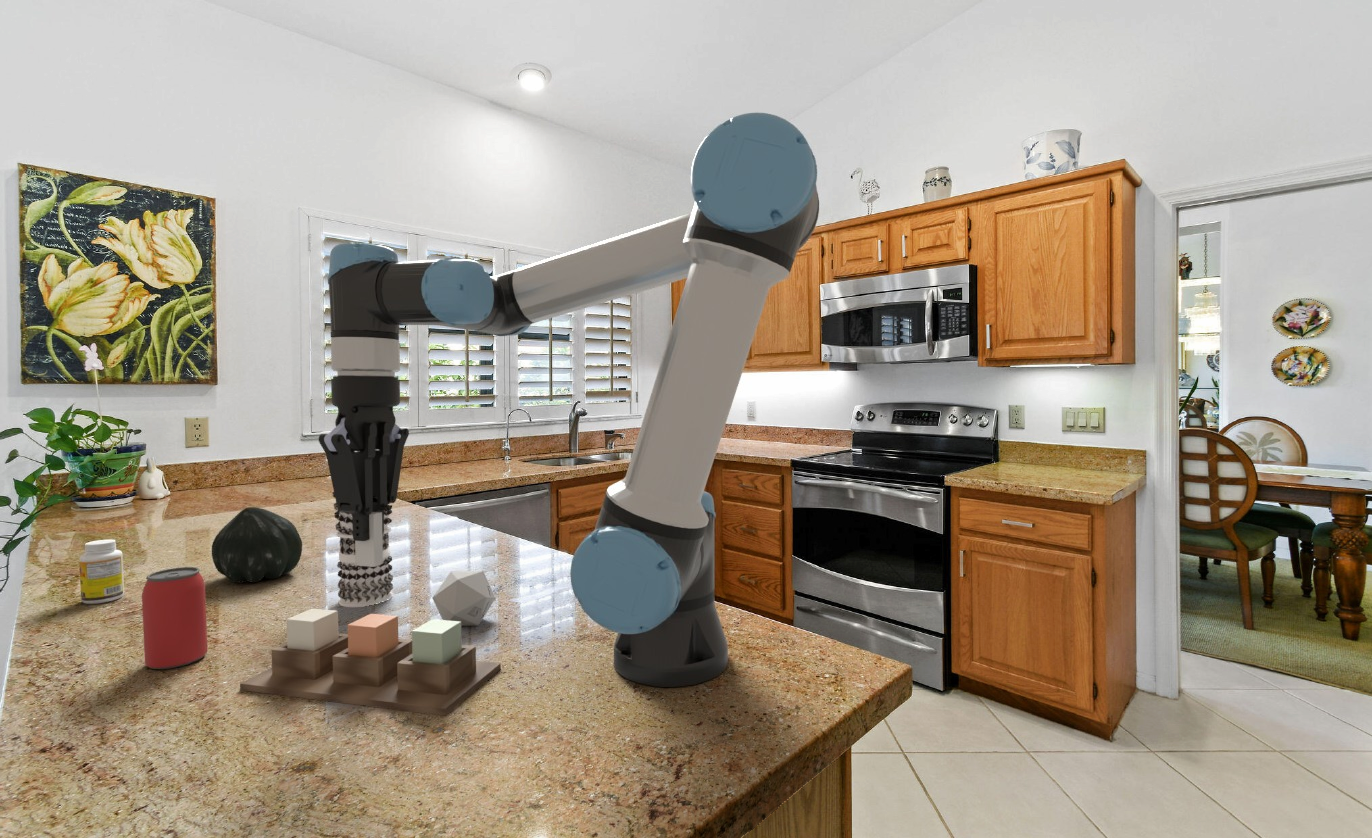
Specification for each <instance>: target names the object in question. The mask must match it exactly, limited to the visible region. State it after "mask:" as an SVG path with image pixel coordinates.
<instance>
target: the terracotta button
mask: <svg viewBox="0 0 1372 838" xmlns="http://www.w3.org/2000/svg"><path fill="white" fill-rule="evenodd" d="M347 634H348V655H357V656H367V657H376V658H377V657H379V656H381V655H382V654H384V653H386V652H387V651H389V650H391V649H393V648H394V647H396V646H398V645H399V639H400V638H399V616H398V615H392V614H391V615H389V614H379V613H369V614H367V615H366V616H363V617H361V618H359V619H357V620H355V621H353V622H351V623H349V624H347Z"/></svg>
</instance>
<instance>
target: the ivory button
mask: <svg viewBox="0 0 1372 838" xmlns="http://www.w3.org/2000/svg"><path fill="white" fill-rule="evenodd" d="M338 633H339V611H338V610H333V609H332V610H331V609H322V608H321V609H320V608H310V609H307V610H305V611H303V612H301V613H298V614H296V615H293V616H291V617H288V618H286V636H287V637H286V638H287V639H286V641H287V642H286V643H287V648H291V649H300V650H310V651H315V650H317V649H319V648H321V647H323V646H325V645H327V644H329V643H331V642H333V641H335V640H337V639H339V634H338Z"/></svg>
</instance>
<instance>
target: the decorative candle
mask: <svg viewBox="0 0 1372 838" xmlns="http://www.w3.org/2000/svg"><path fill="white" fill-rule="evenodd" d="M387 493H388V492H387ZM332 497H333V498H334V499H335V494H334V491H333V492H332ZM333 507H334V510H336V511H335V512H334V517H333V518H335V519H336V520H337V523H335V530H336V537H338V538H339V552H338V560H339V561H338V562H337V565H336V566H337V568H338V569H340V570H338V571H337V577H339V578H340V580H338V582H337V588H338V589H339V590H338V591H337V595H338V597H339V600H338V604H339V606H341V607H344V608H352V609H354V608H356V609H357V608H365V606H367V607H370V606H369V605H372V606H375V605H374V604H376V603H379V602H382V601H386V600H387V599H390V598H391V597H392V598H393V596H394V593H393V592H392V590H393V589H394V584H393V583H392V581H393V580H394V578H393V577H394V576H393V574H391V571H392V570H393V565H391V564H390V563H391V562H392V561H393V557H392V556H391V546H390V544H389V541H390V540H389V539H390V538H389V536H390V535H389V533H391V531H392V527H391V526H389V524H390V523H392V522H393V520H392V518H390V517H389V516H390V515H391V514H392V513H393V510H392V509H391V510H390V511H384V533H383V535H382V545H383V564H381V565H378V566H375V567H370V566H357V565H356V559H355V541H354V539H353V521H352V515H351V514H349V513H345V512H344V511H339V510H338V508H337V503H336V502H335V503H334V504H333ZM392 595H393V596H392ZM392 598H391V599H392ZM391 599H390V600H391ZM386 602H387V601H386Z"/></svg>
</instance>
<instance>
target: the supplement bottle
mask: <svg viewBox="0 0 1372 838" xmlns="http://www.w3.org/2000/svg"><path fill="white" fill-rule="evenodd" d="M116 542H117V541H116V539H109V538H108V539H100V540H99V539H98V540H93V541H89V542H86V543H84V552H85V553H83V554H82V555H81V556H80V557H79V558H78V564H79V565H78V566H79V579H80V580H79V582H80V584H79V585H80V599H81V602H82V603H83V604H87V605H98V604H104V603H109V602H113V601H116V600H119V599H121V598H122V597H124V595H125V577H124V561H123V560H124V559H123V558H124V557H123V556H124V554H123V552H122V551H121V550H119V549H117V543H116Z"/></svg>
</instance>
